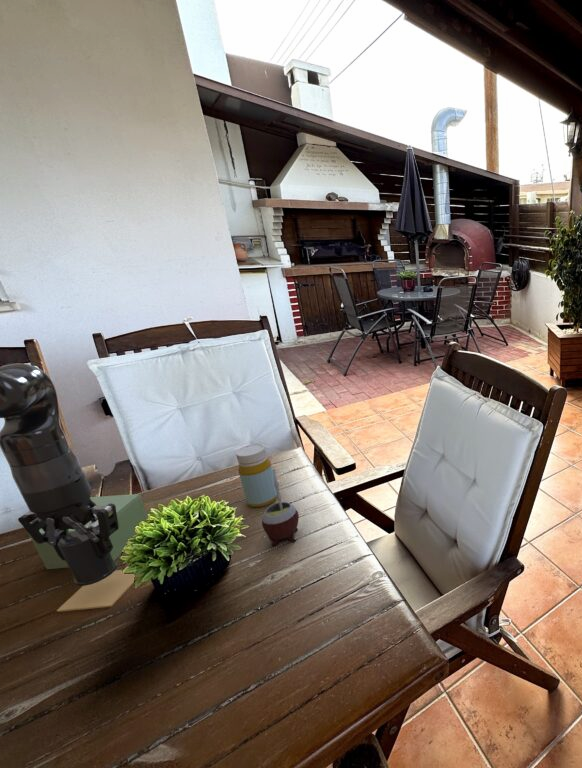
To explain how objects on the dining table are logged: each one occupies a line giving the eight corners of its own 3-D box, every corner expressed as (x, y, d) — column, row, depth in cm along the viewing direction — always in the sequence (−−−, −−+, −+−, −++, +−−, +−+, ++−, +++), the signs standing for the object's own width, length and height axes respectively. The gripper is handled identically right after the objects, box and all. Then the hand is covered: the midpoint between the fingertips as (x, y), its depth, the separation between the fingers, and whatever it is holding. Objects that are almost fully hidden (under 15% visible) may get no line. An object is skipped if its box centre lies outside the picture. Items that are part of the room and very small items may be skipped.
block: (46, 569, 82) (28, 534, 79) (96, 529, 93) (81, 497, 90) (111, 563, 84) (95, 529, 81) (152, 525, 95) (139, 493, 92)
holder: (65, 587, 73) (45, 548, 70) (93, 563, 78) (75, 526, 75) (100, 584, 74) (82, 545, 71) (125, 560, 79) (109, 523, 76)
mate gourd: (282, 553, 87) (267, 495, 81) (257, 542, 90) (242, 486, 84) (310, 531, 93) (298, 476, 88) (287, 522, 96) (274, 468, 91)
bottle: (241, 506, 102) (226, 454, 96) (263, 490, 108) (250, 441, 103) (263, 510, 100) (250, 458, 95) (284, 494, 106) (273, 444, 101)
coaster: (57, 612, 73) (56, 610, 73) (98, 573, 81) (97, 572, 81) (111, 606, 74) (110, 605, 74) (146, 569, 82) (146, 567, 82)
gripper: (-21, 494, 64) (24, 575, 70) (78, 488, 66) (114, 567, 72) (26, 469, 71) (64, 544, 77) (115, 464, 73) (145, 538, 79)
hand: (88, 555), depth 75 cm, fingers closed on holder, 5 cm apart
